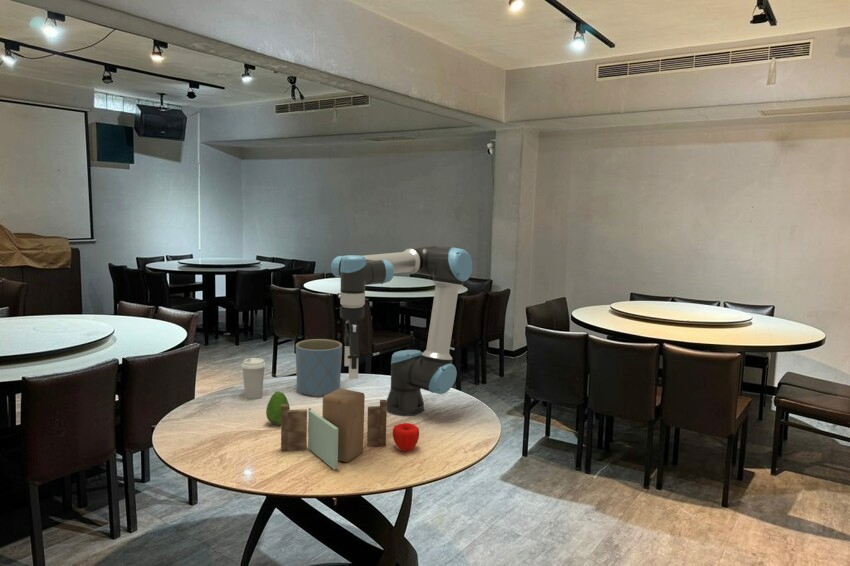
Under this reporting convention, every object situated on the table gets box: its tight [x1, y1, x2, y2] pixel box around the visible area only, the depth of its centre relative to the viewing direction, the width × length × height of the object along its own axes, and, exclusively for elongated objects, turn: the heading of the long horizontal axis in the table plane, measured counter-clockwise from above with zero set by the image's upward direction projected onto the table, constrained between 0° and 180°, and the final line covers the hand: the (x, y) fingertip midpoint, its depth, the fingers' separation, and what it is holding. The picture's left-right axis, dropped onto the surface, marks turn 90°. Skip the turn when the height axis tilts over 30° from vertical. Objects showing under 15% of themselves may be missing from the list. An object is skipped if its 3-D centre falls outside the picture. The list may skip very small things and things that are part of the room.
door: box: [307, 407, 339, 471], centre depth 178 cm, size 19×1×13 cm, turn 37°
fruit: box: [265, 391, 291, 426], centre depth 205 cm, size 8×8×12 cm
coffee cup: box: [240, 357, 267, 400], centre depth 231 cm, size 10×10×15 cm
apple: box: [392, 422, 420, 452], centre depth 188 cm, size 9×9×8 cm
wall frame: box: [280, 399, 388, 453], centre depth 187 cm, size 34×2×15 cm, turn 103°
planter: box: [295, 338, 343, 398], centre depth 241 cm, size 19×19×20 cm
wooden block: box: [321, 387, 366, 463], centre depth 182 cm, size 10×10×20 cm
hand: (350, 372), depth 181 cm, fingers open, 13 cm apart
